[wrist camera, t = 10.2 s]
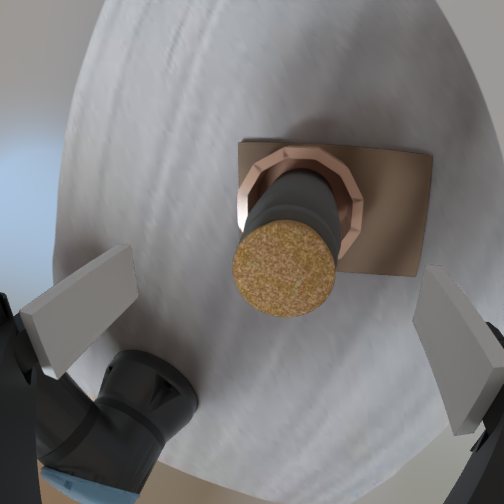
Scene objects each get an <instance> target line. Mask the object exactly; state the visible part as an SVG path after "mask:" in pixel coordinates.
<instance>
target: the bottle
mask: <svg viewBox="0 0 504 504" xmlns="http://www.w3.org/2000/svg"><path fill="white" fill-rule="evenodd" d="M341 240H342V235H341V226H340V220H339V215H338V210H337V205H336V201H335V197H334V193H333V190H332V187H331V186H330V184H329V182H328V181H327V180H326V179H325V178H324V177H323V176H322V175H321V174H320V173H318V172H316V171H314V170H311V169H308V168H295V169H291V170H288V171H286V172H284V173H283V174H281V175H280V176H279V177H278V178H277V179H276V180H275V181H274V182H273V183H272V185H271V186H270V187H269V188H268V189H267V191H266V192H265V193H264V194H263V195H262V197H261V198H260V199H259V200H258V201H257V203H256V204H255V206H254V207H253V208H252V210H251V211H250V213H249V215H248V217H247V219H246V222H245V226H244V232H243V234H242V236H241V238H240V242H239V246H238V247H237V249H236V252H235V255H234V258H233V266H232V269H233V277H234V281H235V284H236V286H237V288H238V290H239V292H240V293H241V295H242V296H243V297H244V299H245V300H246V301H247V302H248V303H250V304H251V305H252V306H253V307H255V308H256V309H258V310H260V311H262V312H264V313H267V314H269V315H273V316H278V317H295V316H300V315H304V314H306V313H309V312H311V311H313V310H314V309H316V308H317V307H319V306H320V305H321V304H322V303H323V302H324V301H325V300H326V299H327V297H328V296H329V294H330V292H331V290H332V288H333V286H334V282H335V271H336V267H337V261H338V255H339V252H340V248H341Z"/></svg>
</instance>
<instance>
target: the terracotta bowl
mask: <svg viewBox="0 0 504 504" xmlns="http://www.w3.org/2000/svg"><path fill="white" fill-rule="evenodd" d="M295 168H308V169H311V170H314V171H316V172H318V173H320V174H321V175H322V176H323V177H324V178H325V179H326V180H327V181H328V182H329V184H330V186H331V187H332V190H333V193H334V197H335V201H336V205H337V210H338V215H339V220H340V226H341V235H342V240H341V248H340V252H339V255H338V259H341V258H342V257H343V256H344V254H345V253H346V252H347V250H348V249H349V247H350V246H351V245H352V243H353V242H354V241H355V239H356V238H357V237H358V235H359V234H360V232H361V223H362V213H363V201H364V199H363V197H362V195H361V193H360V191H359V188H358V186H357V184H356V182H355V180H354V178H353V176H352V174H351V172H350V170H349V168H348V167H347V166H346V165H345V163H343V162H342V161H340V160H339V159H337V158H336V157H334V156H333V155H332V154H330V153H328V152H327V151H325V150H323V149H322V148H320V147H315V146H292V145H289V146H286V147H283V148H281V149H280V150H278V151H276V152H274V153H272V154H270V155H269V156H267V157H265V158H263V159H261V160H260V161H258V162H256V163H254V164H253V166H252V167H251V169H250V171H249V173H248V174H247V176H246V178H245V180H244V181H243V183H242V185H241V187H240V188H239V190H238V192H237V203H238V225H239V227H240V229H241V230H242V232H244V226H245V222H246V219H247V217H248V215H249V213H250V211H251V210H252V208H253V207H254V206H255V204H256V203H257V201H258V200H259V199H260V198H261V197H262V195H263V194H264V193H265V192H266V191H267V189H268V188H269V187H270V186H271V185H272V183H273V182H274V181H275V180H276V179H277V178H278V177H279V176H280V175H281V174H283V173H284V172H286V171H288V170H291V169H295Z"/></svg>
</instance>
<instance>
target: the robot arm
mask: <svg viewBox="0 0 504 504" xmlns="http://www.w3.org/2000/svg"><path fill="white" fill-rule="evenodd" d="M138 297H139V294H138V288H137V282H136V276H135V270H134V263H133V256H132V249H131V245H125V244H117V245H116V246H114V247H112V248H111V249H109V250H108V251H106V252H104V253H103V254H101V255H100V256H98V257H97V258H95V259H93V260H92V261H90V262H89V263H87V264H86V265H84V266H83V267H81V268H80V269H78V270H77V271H75V272H74V273H72V274H71V275H69V276H68V277H66V278H65V279H63V280H62V281H60V282H59V283H57V284H56V285H54V286H53V287H51V288H50V289H49V290H47V291H46V292H44V293H43V294H41V295H40V296H39V297H38V298H36V299H34V300H33V301H32V302H30V303H29V304H27V305H26V306H25V307H23V308H22V309H20V310H19V313H18V314H16V315H15V316H13V314H12V311H11V308H10V305H9V302H8V299H7V296H6V295H5V293H1V292H0V504H42V502H41V494H40V487H39V478H38V467H37V459H38V460H39V461H40V462H41V463H42V464H43V465H44V467H42V468H41V473H40V474H41V477H42V478H43V479H44V480H46V481H47V482H48V483H49V484H50V485H52V486H53V487H55V488H56V489H57V490H59V491H60V492H62V493H64V494H65V495H67V496H69V497H70V498H72V499H74V500H76V501H78V502H80V503H82V504H134V503H135V502H136V500H137V499H138V498H139V497H140V492H141V491H142V489H143V487H144V485H145V483H146V481H147V479H148V477H149V475H150V473H151V471H152V469H153V467H154V465H155V463H156V461H157V459H158V457H159V455H160V453H161V451H162V449H163V447H164V446H165V444H166V442H167V441H168V440H169V439H171V438H172V437H173V436H174V435H175V434H176V433H178V432H179V431H180V430H181V429H182V428H183V427H184V426H185V425H187V424H188V423H189V421H190V420H191V419H192V417H193V415H194V412H195V410H196V408H197V398H196V394H195V392H194V390H193V388H192V386H191V385H190V384H189V382H188V381H187V380H186V379H185V378H184V376H183V375H182V374H180V373H179V372H178V371H177V370H176V369H175V368H173V367H172V366H171V365H169V364H168V363H166V362H164V361H163V360H161V359H159V358H157V357H155V356H153V355H150V354H147V353H144V352H139V351H124V352H121V353H119V354H118V355H117V356H116V357H115V358H114V359H113V360H112V361H111V362H110V364H109V365H108V367H107V369H106V372H105V375H104V378H103V381H102V384H101V388H100V391H99V394H98V397H97V399H96V400H95V401H94V402H93V401H92V400H91V399H90V398H89V397H88V396H87V394H86V393H85V392H84V391H83V390H82V389H81V388H80V387H79V386H78V385H77V383H76V382H75V381H74V380H73V379H72V378H71V377H70V375H69V374H68V373H67V372H66V371H67V370H68V368H69V367H70V366H71V365H72V364H73V363H74V362H75V361H76V360H77V359H78V358H79V357H80V356H81V355H82V354H83V353H84V352H85V351H86V350H87V349H88V348H89V347H90V346H91V345H92V343H93V342H94V341H95V340H96V339H97V338H98V337H99V336H100V335H101V334H102V333H103V332H104V331H105V330H106V329H107V328H108V327H109V326H110V325H111V324H112V323H113V322H114V321H115V320H116V319H117V318H118V317H119V316H120V315H121V314H122V313H123V312H124V311H125V310H126V309H127V308H128V307H129V306H130V305H131V304H132V303H133V302H134V301H135V300H136V299H137V298H138ZM413 323H414V326H415V328H416V330H417V333H418V335H419V338H420V340H421V343H422V345H423V348H424V350H425V353H426V355H427V358H428V360H429V363H430V366H431V368H432V371H433V374H434V376H435V379H436V382H437V385H438V388H439V391H440V394H441V396H442V399H443V402H444V406H445V409H446V412H447V415H448V418H449V421H450V425H451V428H452V431H453V435H454V436H457V435H464V434H470V433H474V432H475V430H476V429H477V427H478V426H479V424H480V423H481V421H482V420H483V423H484V426H485V428H486V430H485V431H484V432H483V434H482V435H481V436H480V438H479V439H478V440H477V442H476V443H475V444H474V446H473V447H472V448H471V450H470V451H472V452H473V453H472V455H471V457H470V459H469V461H468V462H467V465H466V466H465V468H464V470H463V472H462V473H461V476H460V477H459V479H458V481H457V482H456V484H455V486H454V487H453V489H452V490H451V492H450V494H449V495H448V497H447V498H446V500H445V501H444V503H443V504H504V337H503V335H502V334H501V332H500V331H499V330H498V329H497V328H496V327H494V326H493V325H492V324H491V323H489V322H485V321H484V320H483V318H482V317H481V316H480V314H479V313H478V312H477V310H476V309H475V308H474V306H473V305H472V304H471V302H470V301H469V300H468V298H467V297H466V296H465V294H464V293H463V292H462V291H461V289H460V288H459V287H458V285H457V284H456V283H455V282H454V280H453V279H452V278H451V277H450V276H449V274H448V273H447V272H446V271H445V269H444V268H443V267H442V266H438V265H426V267H425V272H424V276H423V281H422V285H421V290H420V294H419V298H418V302H417V306H416V310H415V314H414V317H413ZM473 450H474V451H473Z"/></svg>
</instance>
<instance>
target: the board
mask: <svg viewBox="0 0 504 504" xmlns="http://www.w3.org/2000/svg"><path fill="white" fill-rule="evenodd" d="M289 145H292V146H315V147H320V148H322V149H323V150H325V151H327V152H328V153H330V154H332V155H333V156H334V157H336V158H337V159H339V160H340V161H342V162H343V163H345V165H346V166H347V167H348V168H349V170H350V172H351V174H352V176H353V178H354V180H355V182H356V184H357V186H358V188H359V191H360V193H361V195H362V197H363V199H364V201H363V213H362V223H361V232H360V234H359V235H358V237H357V238H356V239H355V241H354V242H353V243H352V245H351V246H350V247H349V249H348V250H347V252H346V253H345V254H344V256H343V257H342V258H341V259H338V261H337V267H336V271H337V272H351V273H365V274H379V275H394V276H409V277H416V275H417V270H418V265H419V260H420V255H421V250H422V244H423V238H424V232H425V225H426V219H427V211H428V203H429V195H430V185H431V175H432V162H433V156H431V155H425V154H418V153H410V152H403V151H395V150H386V149H377V148H367V147H356V146H343V145H329V144H310V143H282V142H238V165H239V188H240V187H241V185H242V183H243V181H244V180H245V178H246V176H247V174H248V173H249V171H250V169H251V167H252V166H253V164H254V163H256V162H258V161H260V160H261V159H263V158H265V157H267V156H269V155H270V154H272V153H274V152H276V151H278V150H280V149H281V148H283V147H286V146H289ZM242 234H243V232H242V230H241V229H240V238H241V236H242Z"/></svg>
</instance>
